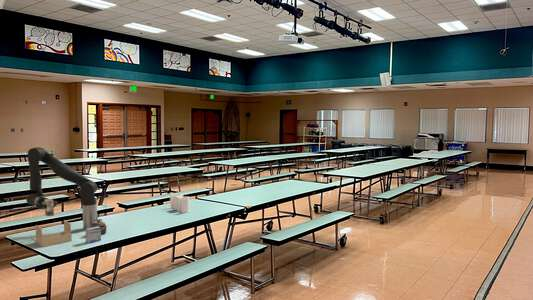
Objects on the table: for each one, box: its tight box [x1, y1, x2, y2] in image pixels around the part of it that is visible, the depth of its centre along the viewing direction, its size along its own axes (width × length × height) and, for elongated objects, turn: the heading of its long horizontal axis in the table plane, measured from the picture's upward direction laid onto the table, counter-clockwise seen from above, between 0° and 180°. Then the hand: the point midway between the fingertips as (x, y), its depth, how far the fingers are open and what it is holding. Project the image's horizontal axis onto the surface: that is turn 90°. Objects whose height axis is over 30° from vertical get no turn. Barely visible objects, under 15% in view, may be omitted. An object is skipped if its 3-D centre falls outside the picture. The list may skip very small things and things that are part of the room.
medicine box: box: [84, 226, 102, 244], centre depth 249 cm, size 8×4×9 cm, turn 138°
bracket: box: [169, 193, 191, 214], centre depth 337 cm, size 25×10×12 cm, turn 35°
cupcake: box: [91, 218, 108, 236], centre depth 265 cm, size 10×10×10 cm
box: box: [44, 198, 55, 217], centre depth 253 cm, size 4×5×10 cm
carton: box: [31, 219, 73, 248], centre depth 253 cm, size 17×25×11 cm
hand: (50, 206), depth 252 cm, fingers closed on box, 3 cm apart
